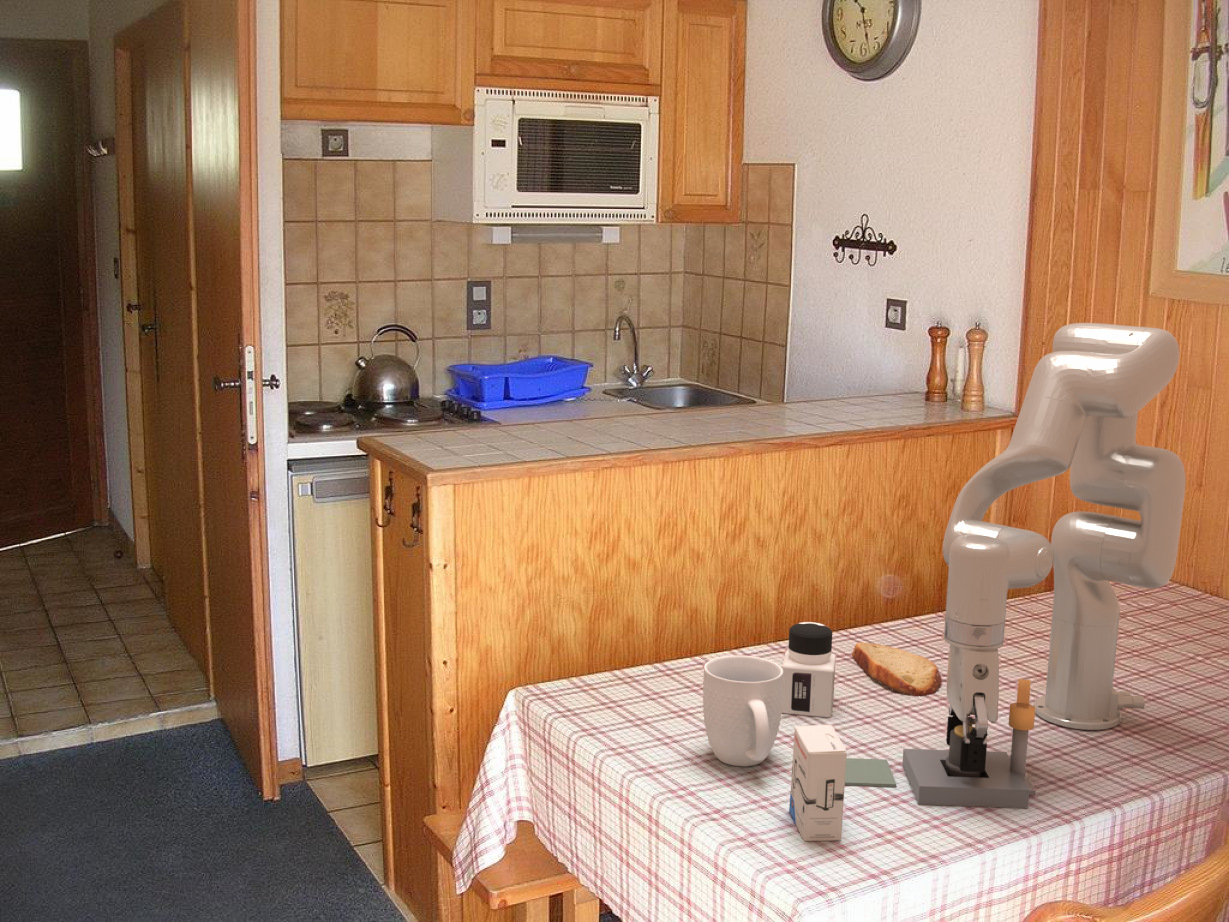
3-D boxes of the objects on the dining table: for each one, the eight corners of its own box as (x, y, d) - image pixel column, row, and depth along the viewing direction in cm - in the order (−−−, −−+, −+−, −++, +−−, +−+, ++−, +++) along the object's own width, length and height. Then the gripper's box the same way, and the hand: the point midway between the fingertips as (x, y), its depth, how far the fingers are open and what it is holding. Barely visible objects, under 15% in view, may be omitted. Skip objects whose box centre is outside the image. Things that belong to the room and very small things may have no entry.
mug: (801, 782, 176) (806, 689, 173) (722, 789, 173) (726, 695, 171) (764, 738, 190) (767, 652, 187) (691, 744, 187) (693, 657, 185)
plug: (977, 779, 178) (981, 723, 176) (985, 795, 173) (990, 737, 171) (940, 777, 178) (944, 722, 176) (948, 793, 173) (952, 736, 171)
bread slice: (858, 650, 230) (859, 629, 230) (960, 669, 221) (962, 648, 221) (820, 680, 215) (821, 658, 214) (928, 702, 206) (929, 679, 206)
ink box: (788, 810, 167) (791, 723, 165) (826, 809, 168) (830, 722, 166) (803, 842, 159) (807, 751, 157) (843, 841, 159) (848, 750, 157)
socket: (1019, 769, 181) (1024, 711, 179) (1043, 808, 169) (1049, 746, 167) (902, 765, 181) (906, 707, 180) (918, 804, 170) (922, 742, 168)
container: (831, 718, 198) (835, 635, 196) (779, 713, 200) (783, 631, 197) (833, 700, 205) (837, 620, 203) (783, 695, 207) (787, 616, 205)
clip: (1033, 731, 171) (1035, 712, 171) (1008, 728, 172) (1009, 709, 172) (1035, 698, 183) (1036, 680, 183) (1011, 695, 184) (1012, 678, 184)
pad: (886, 762, 182) (886, 759, 182) (896, 787, 175) (896, 784, 175) (828, 760, 183) (828, 757, 183) (835, 784, 175) (835, 782, 175)
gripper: (1020, 653, 163) (1010, 787, 166) (987, 611, 180) (978, 733, 183) (959, 651, 163) (950, 785, 166) (932, 609, 180) (924, 731, 183)
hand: (965, 757), depth 174 cm, fingers open, 7 cm apart
